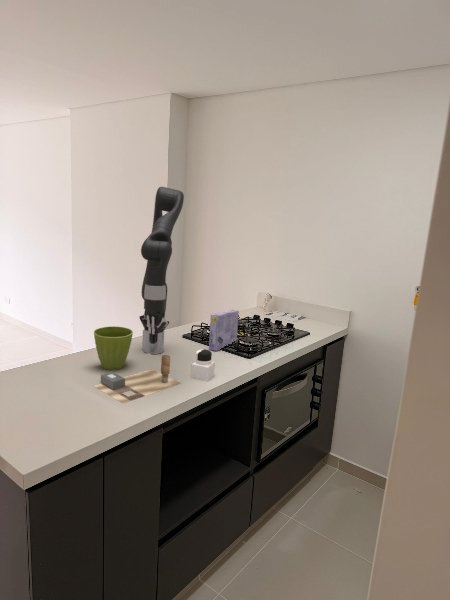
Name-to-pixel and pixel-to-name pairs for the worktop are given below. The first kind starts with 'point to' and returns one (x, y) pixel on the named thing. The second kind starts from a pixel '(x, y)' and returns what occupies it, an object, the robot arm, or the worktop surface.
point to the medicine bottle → (203, 365)
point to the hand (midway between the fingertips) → (153, 343)
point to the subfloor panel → (139, 385)
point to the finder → (112, 380)
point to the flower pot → (113, 346)
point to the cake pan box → (223, 329)
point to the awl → (165, 367)
